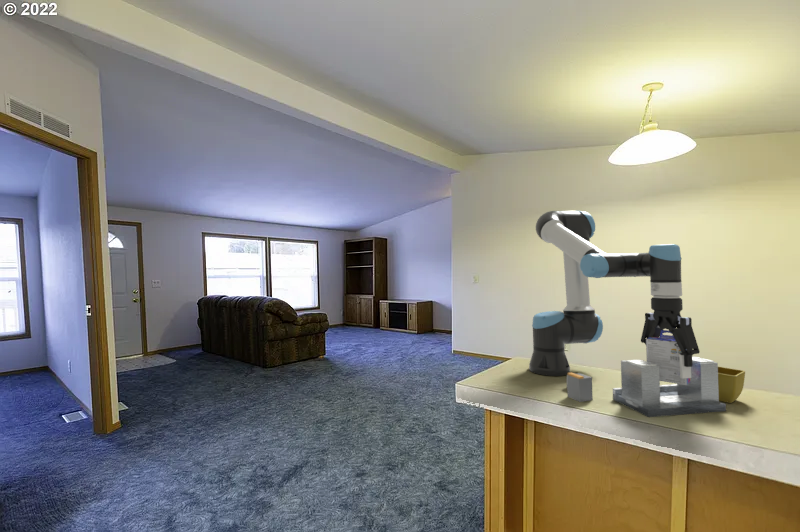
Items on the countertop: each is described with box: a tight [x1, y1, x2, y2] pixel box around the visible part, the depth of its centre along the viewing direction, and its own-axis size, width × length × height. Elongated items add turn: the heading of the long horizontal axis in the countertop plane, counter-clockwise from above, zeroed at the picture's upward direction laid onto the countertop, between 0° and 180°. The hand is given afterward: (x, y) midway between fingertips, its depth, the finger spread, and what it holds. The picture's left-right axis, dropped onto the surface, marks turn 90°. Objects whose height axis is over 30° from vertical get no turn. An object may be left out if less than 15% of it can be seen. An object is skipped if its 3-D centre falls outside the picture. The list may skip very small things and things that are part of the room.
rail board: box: [612, 356, 727, 418], centre depth 110 cm, size 14×24×13 cm, turn 97°
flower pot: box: [718, 366, 746, 404], centre depth 114 cm, size 9×9×9 cm
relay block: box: [566, 371, 594, 403], centre depth 117 cm, size 5×5×8 cm
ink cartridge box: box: [645, 329, 691, 385], centre depth 109 cm, size 10×6×14 cm, turn 45°
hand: (668, 372), depth 109 cm, fingers closed on ink cartridge box, 10 cm apart
